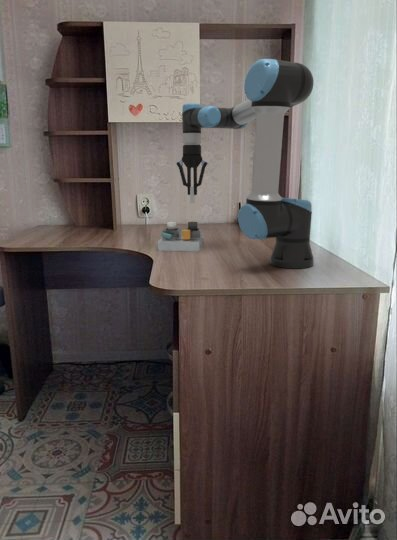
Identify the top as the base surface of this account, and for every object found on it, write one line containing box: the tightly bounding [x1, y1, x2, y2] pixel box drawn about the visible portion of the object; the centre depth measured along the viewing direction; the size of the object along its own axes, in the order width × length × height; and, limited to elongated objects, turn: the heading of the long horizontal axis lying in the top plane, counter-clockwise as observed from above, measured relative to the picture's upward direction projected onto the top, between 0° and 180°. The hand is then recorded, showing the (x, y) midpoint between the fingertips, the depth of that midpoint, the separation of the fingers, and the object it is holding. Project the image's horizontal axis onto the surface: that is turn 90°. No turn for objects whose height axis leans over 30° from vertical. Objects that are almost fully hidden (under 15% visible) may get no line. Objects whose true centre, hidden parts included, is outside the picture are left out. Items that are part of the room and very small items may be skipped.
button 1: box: [166, 220, 178, 230], centre depth 182 cm, size 4×4×3 cm
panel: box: [157, 227, 204, 252], centre depth 179 cm, size 15×17×7 cm
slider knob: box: [181, 229, 191, 239], centre depth 175 cm, size 3×3×4 cm
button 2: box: [187, 221, 198, 230], centre depth 181 cm, size 4×4×3 cm
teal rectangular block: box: [160, 233, 172, 239], centre depth 176 cm, size 2×4×1 cm, turn 84°
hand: (192, 202), depth 179 cm, fingers closed
